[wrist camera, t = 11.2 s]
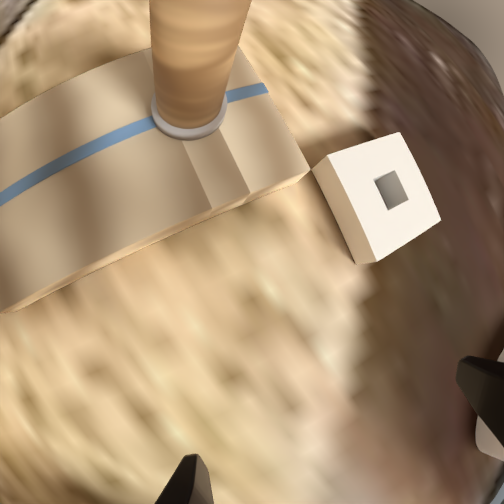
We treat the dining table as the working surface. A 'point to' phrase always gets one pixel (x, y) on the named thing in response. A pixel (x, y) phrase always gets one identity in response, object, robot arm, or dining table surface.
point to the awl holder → (376, 196)
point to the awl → (193, 63)
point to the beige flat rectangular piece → (124, 172)
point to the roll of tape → (489, 435)
